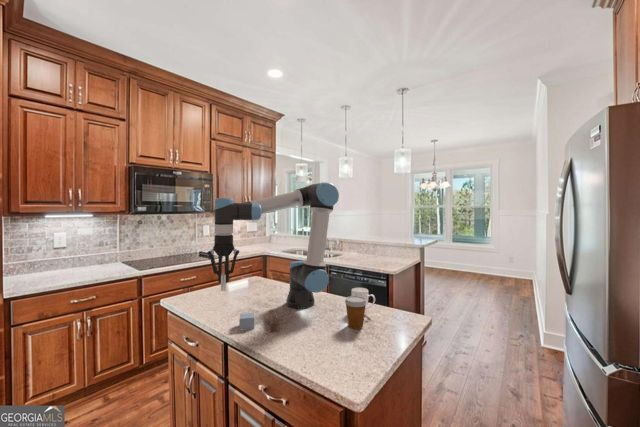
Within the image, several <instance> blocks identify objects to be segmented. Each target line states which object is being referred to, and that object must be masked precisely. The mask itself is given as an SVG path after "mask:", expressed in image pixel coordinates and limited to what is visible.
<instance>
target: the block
mask: <svg viewBox="0 0 640 427" xmlns="http://www.w3.org/2000/svg"><path fill="white" fill-rule="evenodd" d="M238 324H239V327H238V328H239V329H238V330H239V331H242V330H241V329H250V330H255V312H245V313H243V312H242V313H240V314H239V323H238Z"/></svg>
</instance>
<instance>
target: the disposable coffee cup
mask: <svg viewBox="0 0 640 427" xmlns="http://www.w3.org/2000/svg"><path fill="white" fill-rule="evenodd" d="M344 302H345V308H346V316H347V325H348V328H349V329H353V330H359V329H363V327H364V321H365V320H364V319H365V313H366V310H365V306H366V304H367V302H366V299H365V298H363V297H360V296H351V295H350V296H346V298H345V300H344ZM367 305H368V304H367Z"/></svg>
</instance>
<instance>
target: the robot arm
mask: <svg viewBox="0 0 640 427" xmlns="http://www.w3.org/2000/svg"><path fill="white" fill-rule="evenodd" d="M339 196H340V192H339V190H338V188H337V187H336V185H334V184H333V183H332V182H323V181H322V182H318V183H311V184H310V185H306V186H304V187H300V188H297V189H295V190H294V191H291V192H287V193H282V194H278V195H273V196H268V197H265V198H263V197H262V198H260V199H254V200H249V201H246V202H244V201H243V202H241V203H240V202H234V199H233V198H232V197H231V198H230V197H217V198H215V200H214V208H213V209H214V231H213V232H214V236H213V237H214V241H213V242H214V243H213V244H214V245H213V246H212V249H210V250H208V251H207V255H208V257H209V260H210V264H211V267H212V272H213V274H214V275H217V279H218V281H217V282H218V283H220V291H221V292H226V291H227V283H229V281H230V274H233V273H234V270H235V265H236V262H237V257H238V255H239V253H240V250H239V249H236V248H235V245H234V221H259V220H261V219H262V218H261V217H262V215H265V214H268V213H273V212H277V211H281V210H286V209H289V208H294V207H299V208H302V207H309V206H310V207H309V209H310V211H311V213H312V215H311V221H310V222H311V223H310V229H309V238H308V246H307V252H306V253H307V254H306V259H305V260H296V261H292V262H290V264H289V291H288V294H287V297H286V303H285V304H286V306H287V307H289V308H293V309H308V308H311V307H313V306H314V305H315V304H316V303H315V297H314V293H315V294H317V293H321V292H322V291H323V290H325V289H326V288H327V286H328V284H329V281H330V278H329V274H328V272H327V270H326V269H327V264H326V263H325V255H326V254H325V252H326V246H327V245H326V244H327V236H328V230H329V221H330V214H331V213H333V211H334V205H336V204H337V202H338V201H339V199H340V198H339ZM232 253H233V258H232V262H231V266H230V256H231V254H232ZM214 254H216V255H217V256H218V267H217V264H216V263H217V262H216V259H215V255H214ZM223 257H224V258H225V263H224V264H225V266H224V267H225V273H223ZM217 268H218V269H217Z"/></svg>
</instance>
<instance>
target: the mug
mask: <svg viewBox="0 0 640 427" xmlns="http://www.w3.org/2000/svg"><path fill="white" fill-rule="evenodd" d="M350 294H351V295H350V296H360V297H363V298H365V299H366V302H367V304H366V306H365V311H366V310H368V309H369V308H371V307H372V306H374V305H375V302H376V297H375V295H374V294H369V289H368V288H366V287H353V288H351V293H350ZM369 297H372V298H373V302H372V304H370V305H369V306H368V302H369ZM367 306H368V307H367Z"/></svg>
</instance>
